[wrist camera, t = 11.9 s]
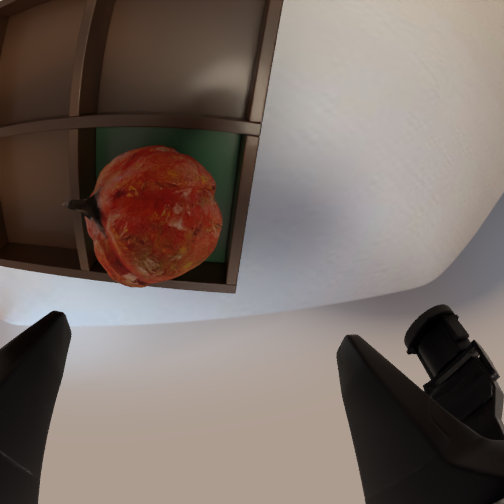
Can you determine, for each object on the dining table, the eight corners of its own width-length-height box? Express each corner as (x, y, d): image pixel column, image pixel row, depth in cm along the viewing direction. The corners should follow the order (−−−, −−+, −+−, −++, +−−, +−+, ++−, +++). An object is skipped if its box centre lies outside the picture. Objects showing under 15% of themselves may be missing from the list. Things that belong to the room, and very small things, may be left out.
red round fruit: (234, 160, 18) (114, 84, 10) (284, 250, 16) (131, 195, 7) (164, 224, 21) (45, 189, 13) (194, 311, 18) (49, 308, 10)
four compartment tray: (233, 266, 21) (235, 293, 18) (9, 245, 18) (-10, 264, 15) (279, -17, 11) (290, -36, 8) (9, 13, 8) (-14, 8, 5)
